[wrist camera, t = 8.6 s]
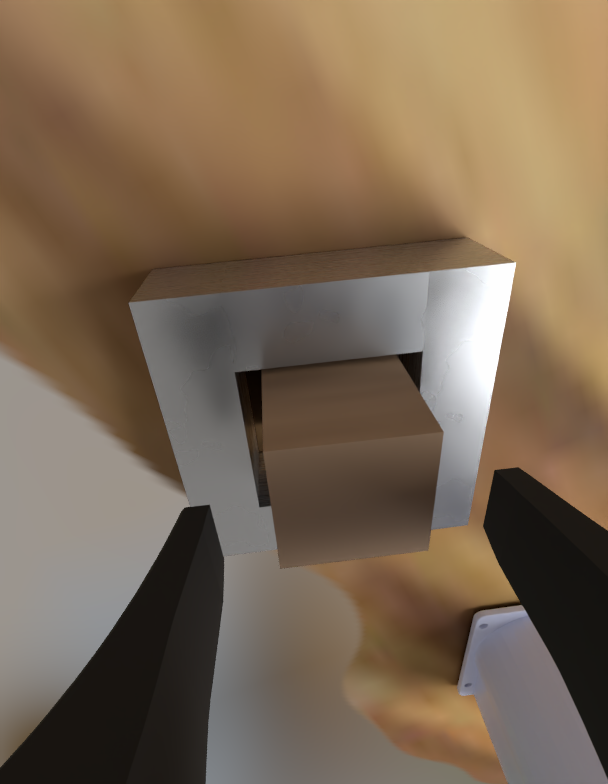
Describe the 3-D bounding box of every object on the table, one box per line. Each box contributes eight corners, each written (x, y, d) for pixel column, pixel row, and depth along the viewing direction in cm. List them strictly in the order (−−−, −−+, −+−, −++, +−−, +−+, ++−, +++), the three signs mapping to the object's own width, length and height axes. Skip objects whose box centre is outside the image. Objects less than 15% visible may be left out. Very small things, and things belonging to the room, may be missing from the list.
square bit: (372, 414, 17) (428, 550, 12) (272, 425, 17) (280, 568, 11) (375, 320, 15) (443, 431, 10) (260, 331, 15) (263, 452, 9)
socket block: (439, 471, 19) (467, 524, 17) (212, 499, 19) (206, 558, 16) (467, 237, 14) (516, 262, 11) (152, 269, 13) (128, 302, 11)
